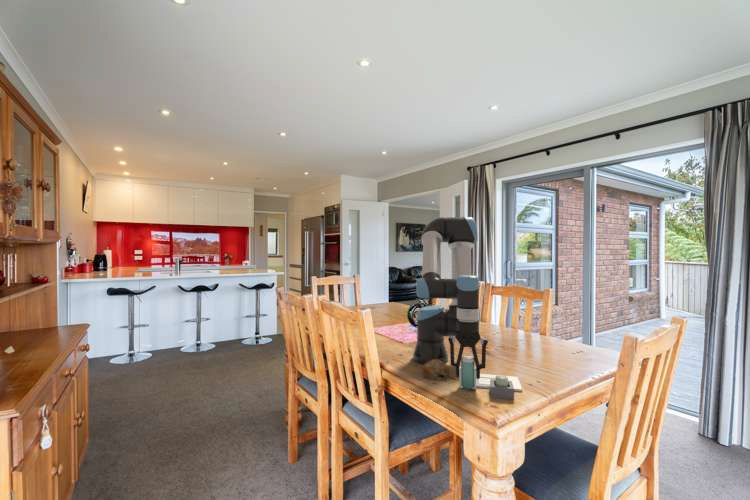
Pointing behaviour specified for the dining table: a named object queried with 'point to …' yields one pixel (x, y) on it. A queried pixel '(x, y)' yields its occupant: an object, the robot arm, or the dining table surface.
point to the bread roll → (435, 370)
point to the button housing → (502, 390)
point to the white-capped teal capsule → (467, 372)
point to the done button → (501, 381)
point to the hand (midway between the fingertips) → (467, 386)
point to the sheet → (485, 378)
